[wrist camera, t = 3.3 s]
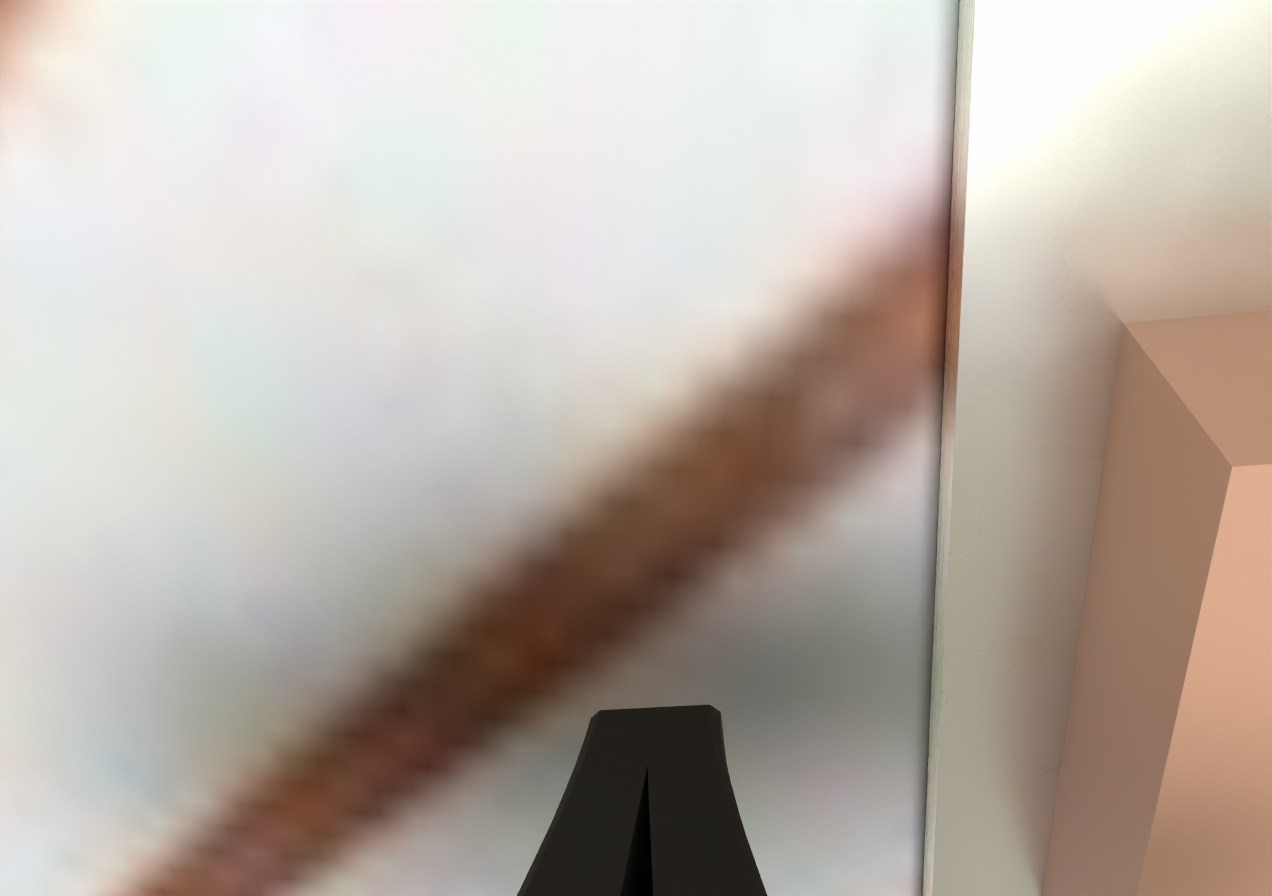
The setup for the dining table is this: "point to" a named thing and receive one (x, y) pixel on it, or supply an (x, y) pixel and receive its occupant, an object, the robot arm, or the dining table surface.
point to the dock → (1065, 356)
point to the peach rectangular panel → (1176, 627)
